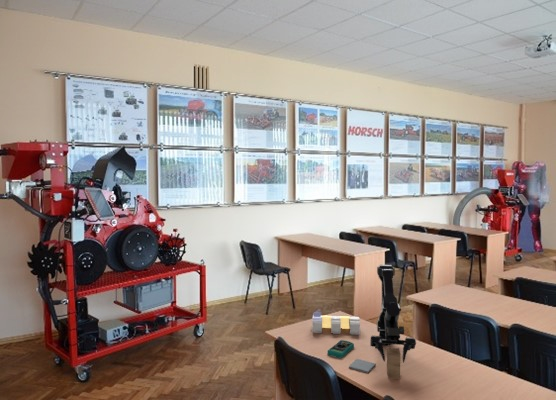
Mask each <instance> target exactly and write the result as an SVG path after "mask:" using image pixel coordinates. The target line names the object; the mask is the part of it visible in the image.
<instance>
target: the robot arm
mask: <svg viewBox="0 0 556 400" xmlns="http://www.w3.org/2000/svg"><path fill="white" fill-rule="evenodd" d="M395 271H396V268H395V267H394V266H392V264H378V266H376V273H377V276H378V279H379V280H380V282H381V304H380V305H381V307H380V308H381V309H380V310H381V312H380V313H379V315H378V319H377V321H376V330H377V332H378V333H379V335H371V336H370V340H369V341H370V347H372V348H374V349H376V350H377V351H378V352H379V354H380V356H381V358H382V361H383V362H386V357H385V356H386V355H385V350H384V346H387V347H388V346H390V345H398V346H399V345H402V346H403V347H402V363H403V364H404V363H405V361H406V355H407V353H408V351H411V350H415V348H416V344H417V340H416V338H414V337H405V339H404V340H403V339H401V335H404V334H405V327H404V326H401V325H399V322H398V320H399V317H400V314H401V311H402V307H401V305H400V304H399V303H398V298H397V297H396V296H395V292H394V284H393V283H394V282H393V278H394V277H395V275H396V274H395V273H396V272H395Z"/></svg>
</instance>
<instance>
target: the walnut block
mask: <svg viewBox="0 0 556 400" xmlns="http://www.w3.org/2000/svg"><path fill="white" fill-rule="evenodd" d="M401 356H402V355H401V350H400V348H397V347H396V348H395V347H387V348H386V375H387V378H388V379H393V380H401V363H402V362H401Z"/></svg>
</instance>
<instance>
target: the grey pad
mask: <svg viewBox="0 0 556 400" xmlns="http://www.w3.org/2000/svg"><path fill="white" fill-rule="evenodd" d="M375 366H376V363H375V362H372V361H368V360H362V359H359V358H355V360H354V361H353V362H352V363H351V364H349V365H348V369H352V370H355V371H358V372H362V373H366V374H369V373H370V372H371V370H373V369H374V367H375Z"/></svg>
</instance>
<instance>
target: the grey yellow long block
mask: <svg viewBox="0 0 556 400" xmlns="http://www.w3.org/2000/svg"><path fill="white" fill-rule="evenodd" d="M312 314H313V315H312V318H311V319H312V333H313V334H323V328H325V329H330V331H331V332H330V333H333V334H334V335H341V331H342V330H343V329H346V330H347V329H348V330H349V335H356V336H357V335H360V331H361V330H360V329H361V328H360V327H361V326H360V325H361V323H360V322H361V321H360V317H359V316H348V315H347V316H346V315H343V316H342V315H322V312H321V309H319V308H318V309H317V310H316V311H315V312H313V313H312ZM341 328H342V329H341Z"/></svg>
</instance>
